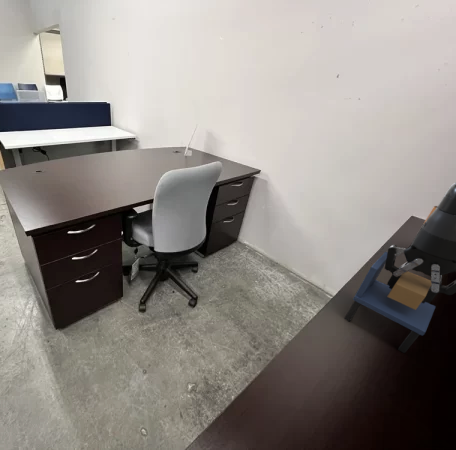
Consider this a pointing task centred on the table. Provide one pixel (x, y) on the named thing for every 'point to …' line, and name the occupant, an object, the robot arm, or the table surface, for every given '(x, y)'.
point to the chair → (391, 305)
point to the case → (410, 290)
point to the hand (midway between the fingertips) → (406, 293)
